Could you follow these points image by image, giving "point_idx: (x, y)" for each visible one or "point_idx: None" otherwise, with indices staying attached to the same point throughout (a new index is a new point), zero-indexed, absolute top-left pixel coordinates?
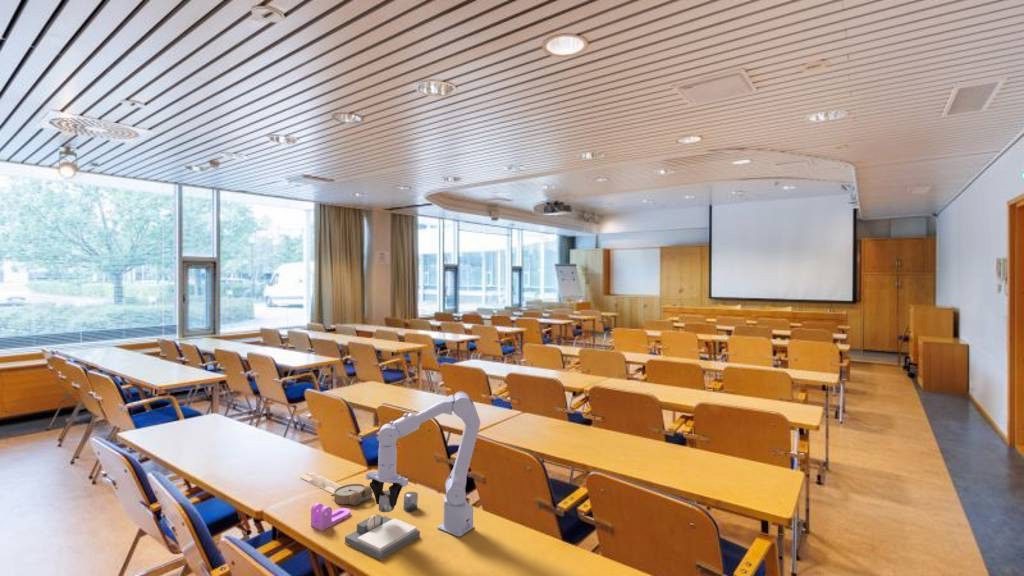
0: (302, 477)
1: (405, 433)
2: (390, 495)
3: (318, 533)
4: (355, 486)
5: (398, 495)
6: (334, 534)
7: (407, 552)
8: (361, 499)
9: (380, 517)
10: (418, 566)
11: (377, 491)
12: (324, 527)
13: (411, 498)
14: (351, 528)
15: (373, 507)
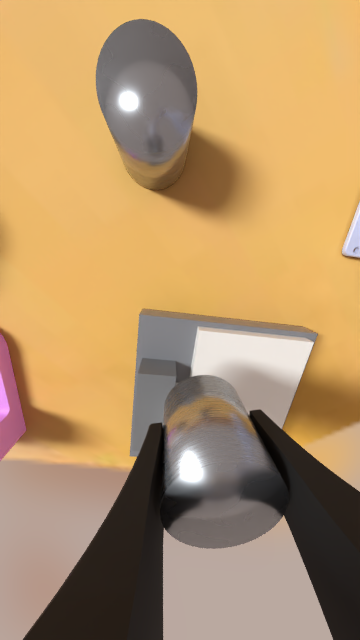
0: None
1: None
2: (301, 554)
3: (32, 442)
4: None
5: (313, 458)
6: (73, 426)
7: (303, 397)
8: None
9: (171, 385)
10: (351, 423)
11: (161, 575)
12: (20, 429)
13: (180, 143)
14: (83, 386)
15: (7, 233)
